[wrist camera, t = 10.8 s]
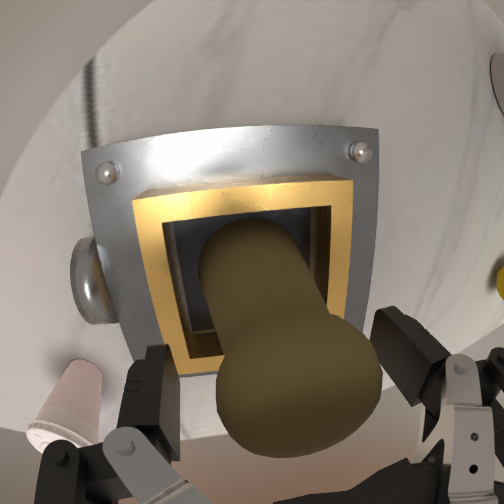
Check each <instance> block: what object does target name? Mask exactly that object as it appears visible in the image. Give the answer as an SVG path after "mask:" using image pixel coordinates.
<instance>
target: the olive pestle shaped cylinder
mask: <svg viewBox="0 0 504 504" xmlns="http://www.w3.org/2000/svg"><path fill="white" fill-rule="evenodd" d="M198 277H199V280H200V283H201V286H202V290H203V293H204V296H205V299H206V302H207V305H208V308H209V311H210V315H211V318H212V321H213V324H214V327H215V329H216V332H217V335H218V338H219V341H220V344H221V347H222V350H223V353H224V355H225V357H224V359H223V361H222V363H221V365H220V367H219V371H218V375H217V379H216V404H217V412H218V414H219V417H220V419H221V421H222V423H223V425H224V427H225V428H226V430H227V432H228V433H229V435H230V436H231V437H232V439H234V440H235V441H236V442H237V443H238V444H239V445H240V446H241V447H243V448H245V449H247V450H248V451H250V452H252V453H253V454H258V455H262V456H267V457H274V458H291V457H292V458H293V457H299V456H304V455H309V454H312V453H315V452H318V451H321V450H324V449H326V448H329V447H330V446H333V445H335V444H336V443H338V442H340V441H342V440H344V439H345V438H347V437H348V436H349V435H351V434H352V433H353V432H355V431H356V430H357V429H358V428H359V427H360V426H361V425H362V424H363V423H364V422H365V421H366V420H367V419H368V417H369V416H370V415H371V414H372V412H373V411H374V409H375V407H376V405H377V404H378V402H379V400H380V395H381V389H382V375H383V372H382V369H381V366H380V363H379V360H378V358H377V355H376V353H375V350H374V348H373V345H372V344H371V342H370V341H369V340H368V339H367V338H366V336H365V335H364V334H363V333H362V332H361V331H359V330H358V329H357V328H355V327H354V326H353V325H351V324H350V323H349V322H347V321H346V320H344V319H342V318H341V317H339V316H337V315H333V314H330V313H329V310H328V308H327V306H326V304H325V302H324V300H323V298H322V296H321V293H320V291H319V289H318V287H317V285H316V283H315V281H314V279H313V277H312V275H311V273H310V271H309V269H308V267H307V264H306V262H305V260H304V258H303V256H302V254H301V252H300V250H299V248H298V246H297V245H296V243H295V241H294V239H293V238H292V236H291V234H289V233H288V232H287V231H286V230H285V229H283V228H282V227H281V226H280V225H278V224H276V223H273V222H271V221H268V220H265V219H256V218H245V219H241V220H238V221H234V222H230V223H228V224H227V225H225V226H224V227H222V228H221V229H219V230H218V231H216V232H215V233H214V234H213V235H212V236H211V238H210V239H209V240H208V241H207V242H206V244H205V245H204V247H203V250H202V252H201V255H200V258H199V260H198Z"/></svg>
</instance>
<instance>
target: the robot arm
mask: <svg viewBox="0 0 504 504" xmlns="http://www.w3.org/2000/svg"><path fill="white" fill-rule="evenodd" d="M491 75H492V82H493V87H494V91H495V94H496V97H497V100H498V103H499V105H500V108H501V110H502V112H503V114H504V53H500V54H495V55H494V56H493V58H492V61H491ZM370 342H371V344H372V345H373V348H374V350H375V353H376V355H377V358H378V360H379V363H380V364H381V366H382V367H383V368H384V370H385V371H386V372H387V374H388V375H389V376H390V378H391V379H392V380H393V382H394V383H395V385H396V386H397V387H398V389H399V390H400V391H401V393H402V394H403V396H404V397H405V398H406V400H407V401H408V403H409V404H410V406H411V407H413V406H415V405H417V404H419V403H421V402H422V403H423V405H424V406H423V408H422V412H421V422H420V430H419V438H418V444H417V449H416V452H415V454H414V456H413V458H412V460H411V463H410V462H409V461H408V459H407V458H405V459H403V460H400V461H399V462H397V463H394V464H392V465H390V466H388V467H385V468H383V469H381V470H379V471H377V472H376V473H374V474H373V475H372V476H370V477H369V478H367V479H366V480H364V481H363V482H361V483H360V484H358V485H357V486H355V487H354V488H352V489H350V490H347V491H341V492H331V493H320V494H308V495H304V496H301V497H296V498H292V499H287V500H283V501H278V502H274V503H273V504H504V478H503V480H502V482H498V481H494V466H495V460H494V459H495V456H494V455H496V456H497V458H498V459H499V461H500V462H501V464H502V466H503V467H504V409H503V407H502V406H501V405H500V403H499V402H498V401H497V400H496V397H497V395H498V394H499V392H500V391H501V390H502V391H503V392H504V348H501V347H497V348H494V349H492V350H491V352H490V354H489V356H488V358H487V359H485V360H480V361H475V362H474V360H473V359H471V358H470V357H468V356H466V355H463V354H454V355H451V354H450V353H449V352H448V351H447V350H446V349H445V348H444V347H443V346H442V345H441V344H440V343H439V342H438V341H437V340H436V339H435V338H434V337H433V336H432V335H430V333H429V332H428V331H427V330H426V329H424V327H423V326H422V325H421V324H420V323H419V322H418V321H417V320H415V319H413V318H412V317H410V316H408V315H404V314H403V313H402V312H401V311H400V310H399V309H398V308H397V307H395V306H390V307H386V308H382V309H378V310H377V311H376V312H375V315H374V321H373V326H372V330H371V335H370ZM171 461H180V381H179V375H178V372H177V369H176V365H175V362H174V359H173V356H172V352H171V349H170V346H169V344H156V345H148V346H147V350H146V355H145V359H140V360H136V361H135V362H134V363H133V364H132V366H131V367H130V368H129V370H128V374H127V378H126V383H125V388H124V392H123V397H122V402H121V407H120V412H119V417H118V423H117V427H116V429H115V430H113V431H111V432H110V433H109V434H108V435H107V436H106V437H105V439H104V442H102V443H99V444H95V445H90V446H85V447H80V448H77V447H76V446H75V445H74V444H73V443H72V442H70V441H68V440H64V439H59V440H55V441H53V442H51V443H49V444H48V445H47V446H46V448H45V449H44V451H43V455H42V459H41V464H40V469H39V475H38V480H37V487H36V493H35V500H34V504H118V500H119V499H124V498H129V497H135V499H136V500H137V501H138V503H139V504H213V503H212V502H211V501H209V500H208V499H207V498H206V497H205V496H204V495H203V494H202V493H201V492H199V491H198V490H197V489H196V488H195V487H194V486H193V485H192V484H191V483H189V482H188V481H186V480H185V479H184V478H183V477H181V476H180V475H179V474H178V473H177V471H176V470H174V468H173V467H172V466H171Z"/></svg>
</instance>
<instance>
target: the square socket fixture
mask: <svg viewBox="0 0 504 504" xmlns="http://www.w3.org/2000/svg"><path fill="white" fill-rule="evenodd" d="M81 157H82V166H83V173H84V181H85V187H86V194H87V200H88V205H89V211H90V216H91V221H92V226H93V231H94V235H95V236H93V237H87V238H82V239H80V240H79V241H78V242H77V244H76V245H75V248H74V250H73V253H72V258H71V265H70V279H71V287H72V293H73V297H74V300H75V303H76V306H77V308H78V310H79V312H80V314H81V315H82V317H83V318H84V319H85V320H86V321H87V322H88V323H90V324H92V325H97V324H112V323H118V322H119V323H120V326H121V329H122V332H123V335H124V337H125V340H126V343H127V345H128V348H129V350H130V353H131V356H132V358H133V361H134V362H135V361H136V360H140V359H145V355H146V350H147V346H148V345H156V344H169V346H170V349H171V352H172V356H173V359H174V362H175V365H176V369H177V372H178V375H179V378H181V377H192V376H202V375H211V374H218V371H219V367H220V365H221V363H222V361H223V359H224V357H225V355H224V353H223V350H222V347H221V344H220V341H219V338H218V335H217V332H216V329H215V327H214V324H213V321H212V318H211V315H210V311H209V308H208V305H207V302H206V299H205V296H204V293H203V290H202V286H201V283H200V280H199V277H198V260H199V258H200V255H201V252H202V250H203V247H204V245H205V244H206V242H207V241H208V240H209V239H210V238H211V236H212V235H213V234H214V233H215V232H216V231H218V230H219V229H221V228H222V227H224V226H225V225H227V224H228V223H230V222H234V221H238V220H241V219H245V218H256V219H265V220H268V221H271V222H273V223H276V224H278V225H280V226H281V227H282V228H283V229H285V230H286V231H287V232H288V233H289V234H291V236H292V238H293V239H294V241H295V243H296V245H297V246H298V248H299V250H300V252H301V254H302V256H303V258H304V260H305V262H306V264H307V267H308V269H309V271H310V273H311V275H312V277H313V279H314V281H315V283H316V285H317V287H318V289H319V291H320V293H321V296H322V298H323V300H324V302H325V304H326V306H327V308H328V310H329V313H330V314H333V315H337V316H339V317H341V318H342V319H344V320H346V321H347V322H349V323H350V324H351V325H353V326H354V327H355V328H357V329H358V330H359V331H361V332H363V327H364V321H365V315H366V309H367V303H368V297H369V290H370V283H371V275H372V267H373V258H374V248H375V237H376V225H377V209H378V185H379V135H378V129H373V128H361V127H346V126H323V125H269V126H245V127H230V128H217V129H207V130H197V131H188V132H180V133H173V134H166V135H159V136H153V137H147V138H141V139H135V140H130V141H125V142H120V143H115V144H110V145H106V146H101V147H97V148H93V149H88V150H84V151H81Z"/></svg>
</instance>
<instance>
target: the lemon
mask: <svg viewBox="0 0 504 504" xmlns="http://www.w3.org/2000/svg"><path fill="white" fill-rule="evenodd" d="M496 275H497V290H498V292H499V295H500V296H501V298H502V299H503V300H504V266H503V267H502V268H501V269H500V270H498V271H497V273H496Z"/></svg>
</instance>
